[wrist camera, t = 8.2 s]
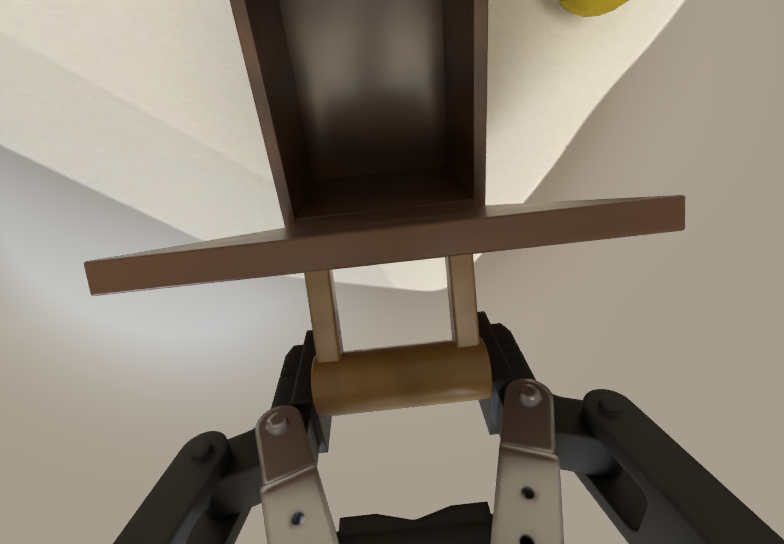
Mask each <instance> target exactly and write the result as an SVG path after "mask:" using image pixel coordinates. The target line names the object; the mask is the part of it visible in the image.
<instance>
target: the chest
mask: <svg viewBox="0 0 784 544" xmlns="http://www.w3.org/2000/svg"><path fill="white" fill-rule="evenodd" d="M230 3H231V7H232V11H233V16H234V20H235V24H236V28H237V32H238V36H239V40H240V44H241V48H242V52H243V56H244V61H245V65H246V69H247V73H248V77H249V81H250V85H251V89H252V93H253V97H254V102H255V106H256V110H257V114H258V118H259V122H260V126H261V130H262V134H263V138H264V142H265V147H266V151H267V155H268V159H269V163H270V167H271V171H272V175H273V179H274V183H275V187H276V192H277V196H278V200H279V204H280V208H281V212H282V216H283V220H284V224H285V228H288V227H297V226H306V225H315V224H324V223H333V222H342V221H351V220H360V219H369V218H378V217H386V216H395V215H404V214H413V213H422V212H431V211H440V210H449V209H458V208H467V207H476V206H485V181H486V116H487V50H488V0H230Z"/></svg>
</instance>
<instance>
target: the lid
mask: <svg viewBox="0 0 784 544" xmlns="http://www.w3.org/2000/svg"><path fill="white" fill-rule="evenodd" d="M684 229H685V196H683V195H675V196H657V197H656V196H655V197H636V198H618V199H598V200H581V201H562V202H561V201H560V202H542V203H522V204H504V205H485V206H476V207H467V208H458V209H449V210H440V211H431V212H422V213H413V214H404V215H395V216H386V217H378V218H369V219H360V220H351V221H342V222H333V223H324V224H315V225H306V226H297V227H288V228H281V229H275V230H269V231H263V232H257V233H251V234H245V235H239V236H233V237H227V238H222V239H216V240H210V241H204V242H198V243H192V244H186V245H180V246H174V247H169V248H162V249H157V250H151V251H145V252H139V253H134V254H127V255H121V256H115V257H109V258H103V259H97V260H91V261H86V262H85V263H84V267H85V271H86V276H87V279H88V284H89V288H90V293H91V295H93V296H97V295H106V294H116V293H125V292H133V291H143V290H152V289H160V288H170V287H179V286H188V285H196V284H205V283H214V282H224V281H233V280H240V279H250V278H260V277H268V276H277V275H287V274H296V273H304V275H305V281H306V288H307V295H308V302H309V308H310V315H311V322H312V328H313V336H314V343H315V349H316V356H315V357H314V359H313V363H312V370H311V389H312V399H313V404H314V408H315V411H316V413H317V415H318V416H319V417H327V416H335V415H345V414H355V413H363V412H373V411H382V410H390V409H400V408H409V407H418V406H427V405H436V404H445V403H453V402H463V401H471V400H481V399H489V398H490V397H491V395H492V388H493V382H492V371H491V365H490V360H489V355H488V352H487V348H486V346H485V343H484V341H483V340H482V338H481V337H479V327H478V315H477V304H476V303H477V302H476V290H475V276H474V263H473V254H476V253H485V252H494V251H503V250H512V249H521V248H529V247H539V246H548V245H556V244H566V243H575V242H584V241H592V240H602V239H611V238H620V237H628V236H637V235H646V234H656V233H665V232H674V231H682V230H684ZM440 257H445V263H446V274H447V285H448V296H449V306H450V307H449V308H450V319H451V330H452V340H443V341H435V342H426V343H417V344H408V345H399V346H390V347H381V348H371V349H362V350H354V351H345V352H343V346H342V338H341V331H340V323H339V316H338V309H337V301H336V294H335V286H334V279H333V272H332V269H341V268H350V267H359V266H368V265H377V264H386V263H395V262H404V261H413V260H422V259H431V258H440Z"/></svg>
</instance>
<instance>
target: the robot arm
mask: <svg viewBox="0 0 784 544" xmlns="http://www.w3.org/2000/svg"><path fill="white" fill-rule="evenodd" d="M477 315H478V327H479V337H481V338H482V340H483V341H484V343H485V346H486V348H487V352H488V355H489V360H490V365H491V371H492V382H493V388H492V395H491V397H490V398H489V399H481V400H479V403H480V406H481V409H482V412H483V415H484V418H485V421H486V424H487V427H488V430H489V434H490V435H492V434H499V435H500V438H501V441H500V447H499V457H498V468H497V479H496V490H495V501H494V512H493V514H491V513H490V509H489V506H488V502H479V503H470V504H462V505H452V506H449V507H446V508H444V509H441V510H439V511H436V512H434V513H431V514H429V515H426V516H424V517H422V518H419V519H416V520H410V519H404V518H398V517H391V516H385V515H380V514H371V515H362V516H353V517H344V518H340V523H339V531H338V532H336V530H335V527H334V523H333V520H332V516H331V513H330V510H329V506H328V503H327V500H326V496H325V493H324V489H323V486H322V483H321V479H320V477H319V473H318V469H317V462H318V454H319V453H325V452H328V447H329V437H330V428H331V418H332V416H327V417H319V416H318V415H317V413H316V411H315V408H314V404H313V399H312V389H311V370H312V363H313V359H314V357H315V356H316V349H315V343H314V336H313V330H308V331H307V332H306V336H305V341H304V345H296V346H293V348H292V349H291V350H290V351H289V352H288V354H287V355H286V357H285V360H284V364H283V368H282V371H281V375H280V376H281V377H280V378H279V382H278V385H277V389H276V392H275V396H274V400H273V403H272V407H271V409H270V410H269V411H267V412H266V413H264V414H263V415H262V416H261V417H260V419H259V420H258V422H257V424H256V427H255V428H254V429H252V430H250V431H248V432H246V433H243V434H241V435H238V436H235V437H233V438H230V439H228V440H227V438H226V436H225V435H224V434H223V433H220V432H217V431H210V432H205V433H202V434H200V435H198V436H196V437H194V438H193V439H191V440H190V441H189V442H187V443H186V444H185V445H184V446H183V448H182V449H181V450H180V452H179V453H178V454H177V456H176V457H175V458H174V460H173V461H172V463H171V464H170V466H169V467H168V468H167V470H166V471H165V472H164V474H163V475H162V477H161V478H160V479H159V481H158V482H157V483H156V485H155V486H154V488H153V489H152V491H151V492H150V493H149V495H148V496H147V497H146V499H145V500H144V501H143V503H142V504H141V506H140V507H139V508H138V510H137V511H136V513H135V514H134V516H133V517H132V518H131V519H130V521H129V522H128V524H127V525H126V526H125V528H124V529H123V531H122V532H121V534H120V535H119V536H118V538H117V539H116V540H115V542H114V543H113V544H234V543H235V541H236V539H237V537H238V535H239V533H240V531H241V529H242V527H243V525H244V522H245V520H246V518H247V516H248V514H249V512H250V510H251V507H253V506H255V505H258V504H260V503H262V508H263V515H264V522H265V529H266V536H267V544H564V534H563V516H562V497H561V479H560V469H563V470H568V471H573V472H575V474H576V475H577V477H578V478H579V479H580V480H581V482H582V483H583V484H584V485H585V487H586V488H587V490H588V491H589V492H590V494H591V495H592V496H593V498H594V499H595V500H596V501H597V503H598V504H599V505H600V507H601V508H602V509H603V511H604V512H605V513H606V514H607V516H608V517H609V518H610V520H611V521H612V522H613V524H614V525H615V526H616V528H617V529H618V530H619V532H620V533H621V534H622V535H623V537H624V538H625V539H626V541H627V542H628V543H629V544H784V540H783V539H782V538H781V537H780V536H779V535H778V534H777V533H776V532H774V531H773V530H772V529H771V528H770V527H769V526H768V525H767V524H766V523H764V522H763V521H762V520H761V519H760V518H759V517H758V516H757V515H756V514H755V513H754V512H752V511H751V510H750V509H749V508H748V507H747V506H746V505H745V504H744V503H743V502H741V501H740V500H739V499H738V498H737V497H736V496H735V495H734V494H733V493H731V492H730V491H729V490H728V489H727V488H726V487H725V486H724V485H722V483H720V482H719V481H718V480H717V479H716V478H715V477H714V476H713V475H712V474H711V473H709V472H708V471H707V470H706V469H705V468H704V467H703V466H702V465H701V464H699V463H698V462H697V461H696V460H695V459H694V458H693V457H692V456H691V455H690V454H689V453H687V452H686V451H685V450H684V449H683V448H682V447H681V446H680V445H679V444H678V443H676V442H675V441H674V440H673V439H672V438H671V437H670V436H669V435H668V434H666V433H665V432H664V431H663V430H662V429H661V428H660V427H659V426H658V425H657V424H655V423H654V422H653V421H652V420H651V419H650V418H649V417H648V416H647V415H645V414H644V413H643V412H642V411H641V410H640V409H639V408H638V407H637V406H635V404H633V403H632V402H631V401H630V400H629V399H628V398H626V397H625V396H623V395H621V394H619V393H617V392H614V391H611V390H605V389H597V390H592V391H590V392H589V393H587V394H586V395H585V397H584V399H583V400H578V399H571V398H564V397H559V396H556V395H554V394H552V393H551V392H550V390H549V389H548V388H547V387H546V386H545V385H543V384H542V383H540V382H538V381H536V379H535V377H534V376H533V374H532V372H531V370H530V368H529V366H528V364H527V362H526V360H525V358H524V356H523V354H522V352H521V351H520V349H519V347H518V345H517V343H516V341H515V339H514V337H513V335H512V333H511V331H509V330H508V329H507V328H506V327H505V326H503V325H502V324H501V323H497V324H490V322H489V320H488V318H487V316H486V313H485V312H484V311H483V312H477Z"/></svg>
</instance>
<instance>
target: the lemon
mask: <svg viewBox="0 0 784 544" xmlns="http://www.w3.org/2000/svg"><path fill="white" fill-rule="evenodd" d="M558 1H559V2H560V4H561V5H562V6H563V7H564V8H565V9H566V10H568V11H569V12H571V13H572V14H575V15H579V16H583V17H589V16H599V15H602V14H605V13H607V12H610V11H613V10H614V9H616V8H618V7H619V6H621V5H622V4H624V3H625V2H627V1H628V0H558Z"/></svg>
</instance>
